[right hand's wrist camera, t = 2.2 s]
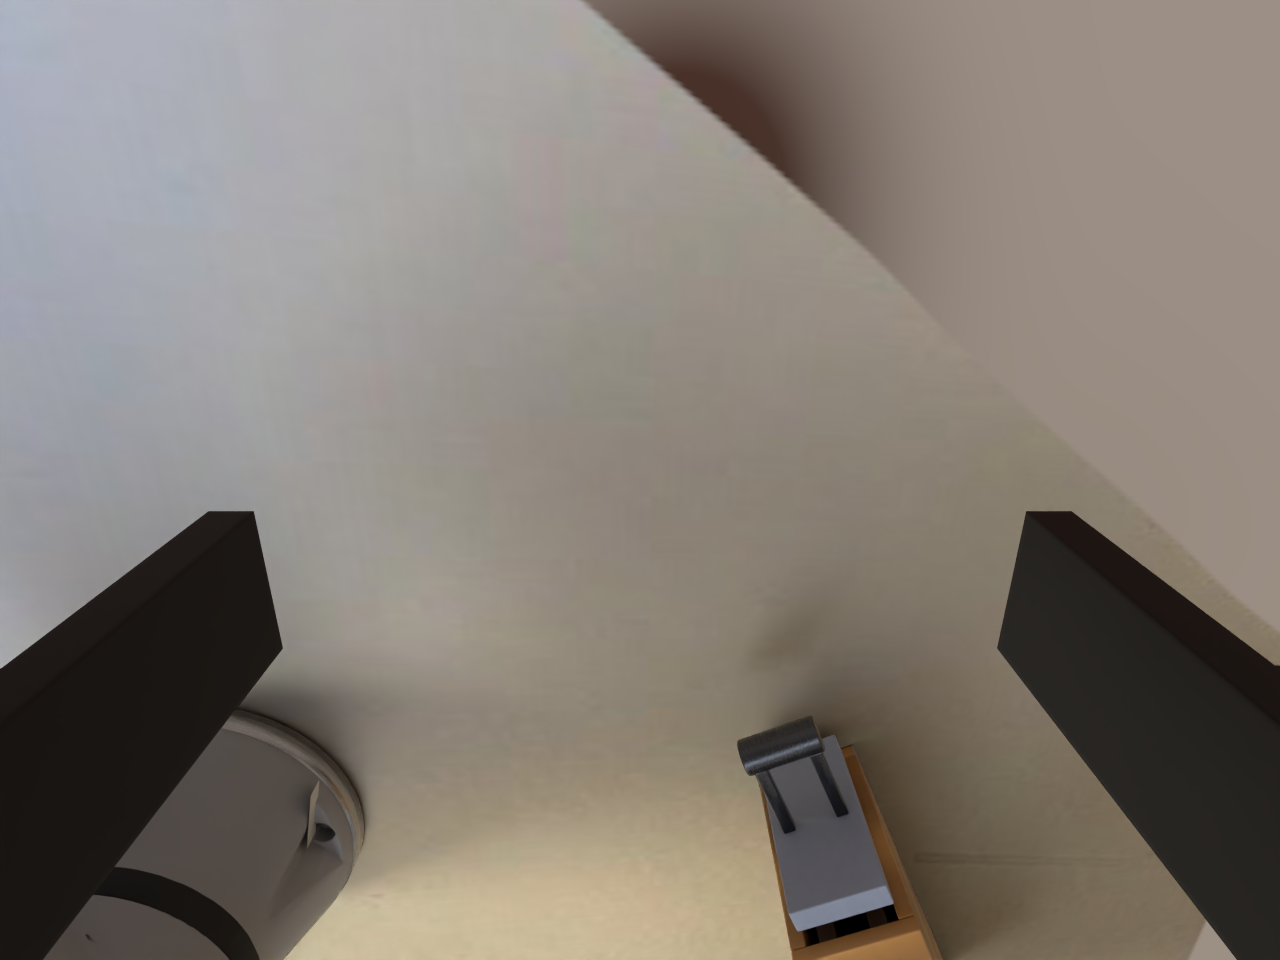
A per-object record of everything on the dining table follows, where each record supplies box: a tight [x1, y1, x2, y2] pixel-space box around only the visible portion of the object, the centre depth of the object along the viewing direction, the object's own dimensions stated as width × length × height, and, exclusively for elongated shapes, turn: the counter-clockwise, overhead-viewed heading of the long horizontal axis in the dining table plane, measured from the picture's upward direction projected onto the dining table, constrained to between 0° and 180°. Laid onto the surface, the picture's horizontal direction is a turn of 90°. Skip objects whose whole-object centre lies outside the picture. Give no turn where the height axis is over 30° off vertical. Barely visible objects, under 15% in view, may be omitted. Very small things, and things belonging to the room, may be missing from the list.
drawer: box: [737, 716, 899, 943], centre depth 37 cm, size 24×4×9 cm, turn 24°
